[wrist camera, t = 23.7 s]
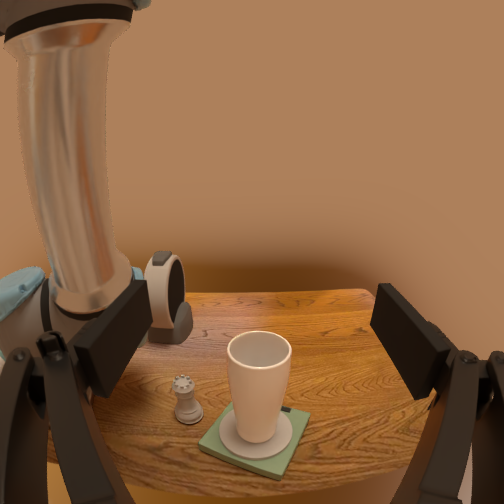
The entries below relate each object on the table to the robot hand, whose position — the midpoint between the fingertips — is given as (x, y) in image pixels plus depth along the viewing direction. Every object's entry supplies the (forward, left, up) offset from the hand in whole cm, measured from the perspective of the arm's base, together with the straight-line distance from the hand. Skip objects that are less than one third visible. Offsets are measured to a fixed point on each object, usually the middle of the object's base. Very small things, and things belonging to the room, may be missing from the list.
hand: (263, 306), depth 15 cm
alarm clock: (-34, +27, -28) cm, 52 cm away
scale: (-4, +9, -28) cm, 30 cm away
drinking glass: (-4, +9, -25) cm, 27 cm away
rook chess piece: (-15, +8, -28) cm, 33 cm away
